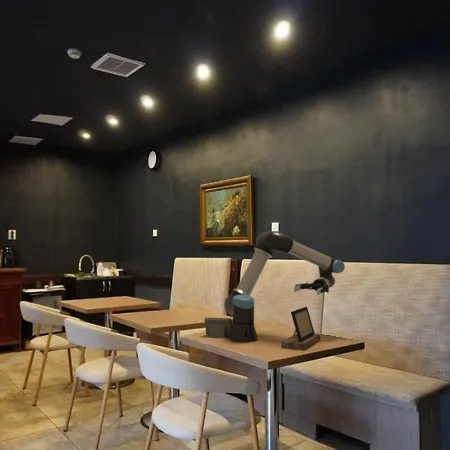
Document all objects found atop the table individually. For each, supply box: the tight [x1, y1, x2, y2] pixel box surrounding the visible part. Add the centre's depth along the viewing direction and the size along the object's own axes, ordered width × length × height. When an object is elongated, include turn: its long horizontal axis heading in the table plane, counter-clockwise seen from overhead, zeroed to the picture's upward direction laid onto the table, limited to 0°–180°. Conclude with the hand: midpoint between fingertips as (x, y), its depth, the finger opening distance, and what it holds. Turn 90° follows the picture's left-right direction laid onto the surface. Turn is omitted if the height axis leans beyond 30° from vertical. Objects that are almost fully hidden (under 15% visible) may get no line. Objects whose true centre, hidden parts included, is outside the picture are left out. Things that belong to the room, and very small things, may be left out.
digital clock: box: [204, 317, 233, 339], centre depth 246 cm, size 16×9×11 cm, turn 64°
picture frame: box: [290, 306, 316, 342], centre depth 229 cm, size 23×9×15 cm, turn 152°
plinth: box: [280, 333, 321, 351], centre depth 226 cm, size 12×28×3 cm, turn 152°
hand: (305, 290), depth 242 cm, fingers open, 13 cm apart
